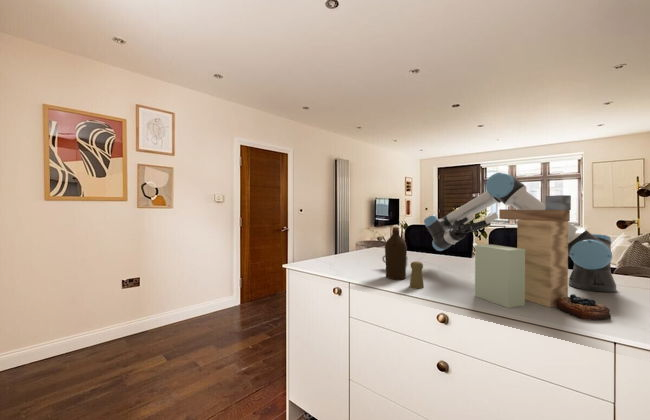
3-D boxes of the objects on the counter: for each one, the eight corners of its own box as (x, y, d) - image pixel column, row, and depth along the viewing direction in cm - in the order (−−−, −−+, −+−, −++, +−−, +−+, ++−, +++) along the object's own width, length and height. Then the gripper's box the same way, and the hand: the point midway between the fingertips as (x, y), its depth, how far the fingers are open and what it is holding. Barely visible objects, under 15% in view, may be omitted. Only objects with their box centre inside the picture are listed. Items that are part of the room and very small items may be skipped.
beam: (507, 218, 121) (507, 197, 121) (570, 221, 98) (570, 195, 98) (498, 218, 120) (498, 197, 120) (560, 221, 97) (560, 195, 97)
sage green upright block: (490, 293, 113) (491, 244, 113) (524, 305, 100) (525, 249, 100) (475, 295, 111) (475, 245, 111) (507, 307, 98) (508, 250, 98)
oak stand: (533, 294, 112) (534, 219, 112) (567, 304, 101) (568, 220, 101) (517, 296, 110) (517, 219, 109) (549, 307, 98) (550, 221, 98)
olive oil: (410, 279, 136) (410, 228, 135) (389, 280, 134) (389, 228, 134) (401, 274, 146) (401, 226, 146) (381, 275, 144) (381, 226, 144)
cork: (424, 289, 120) (425, 263, 120) (410, 288, 122) (410, 262, 122) (423, 285, 126) (423, 260, 126) (408, 284, 127) (409, 260, 127)
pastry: (581, 307, 99) (581, 291, 99) (618, 321, 87) (618, 302, 87) (550, 308, 98) (551, 291, 98) (583, 322, 86) (583, 302, 86)
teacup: (410, 268, 160) (410, 254, 160) (404, 272, 151) (404, 257, 151) (386, 266, 168) (386, 252, 168) (379, 269, 159) (379, 255, 158)
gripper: (476, 240, 149) (509, 222, 131) (437, 241, 141) (466, 222, 123) (471, 227, 152) (502, 208, 134) (432, 228, 145) (460, 207, 127)
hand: (485, 215), depth 129 cm, fingers open, 13 cm apart
